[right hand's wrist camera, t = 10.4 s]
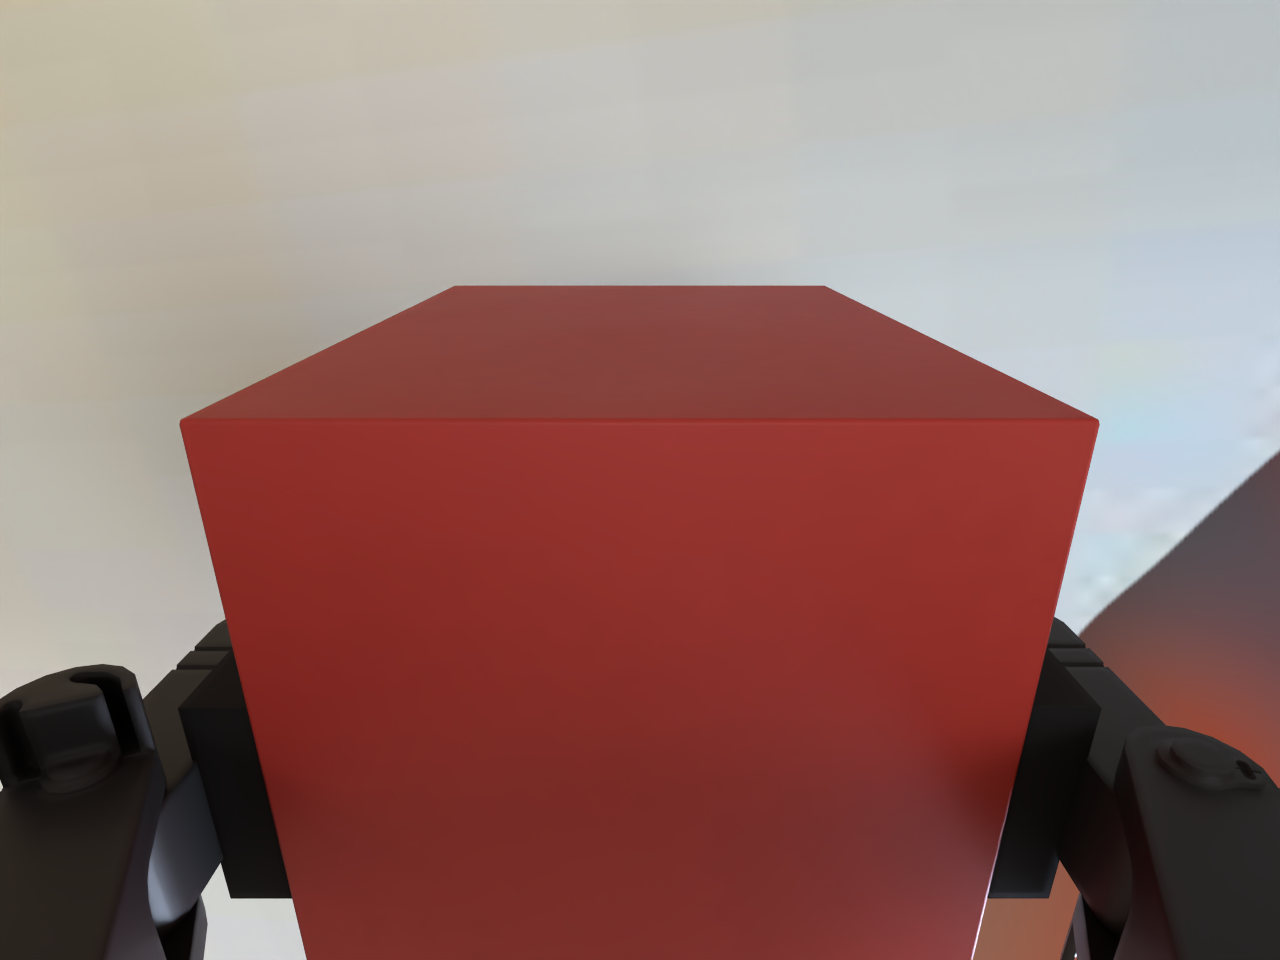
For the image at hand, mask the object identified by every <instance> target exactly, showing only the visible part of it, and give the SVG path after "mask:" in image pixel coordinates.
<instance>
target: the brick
mask: <svg viewBox="0 0 1280 960" xmlns="http://www.w3.org/2000/svg"><path fill="white" fill-rule="evenodd" d="M180 429H181V433H182V437H183V441H184V445H185V450H186V454H187V458H188V462H189V466H190V471H191V475H192V479H193V483H194V487H195V492H196V496H197V500H198V504H199V508H200V513H201V517H202V521H203V525H204V529H205V534H206V538H207V542H208V546H209V550H210V555H211V559H212V563H213V567H214V571H215V576H216V580H217V584H218V588H219V592H220V597H221V601H222V605H223V609H224V613H225V618H226V622H227V626H228V630H229V634H230V639H231V643H232V647H233V651H234V656H235V660H236V664H237V668H238V672H239V677H240V681H241V685H242V689H243V693H244V698H245V702H246V706H247V710H248V714H249V719H250V723H251V727H252V731H253V735H254V740H255V744H256V748H257V752H258V756H259V761H260V765H261V769H262V773H263V777H264V782H265V786H266V790H267V794H268V798H269V803H270V807H271V811H272V815H273V819H274V824H275V828H276V832H277V836H278V840H279V845H280V849H281V853H282V857H283V861H284V866H285V870H286V874H287V878H288V882H289V887H290V891H291V895H292V899H293V903H294V908H295V912H296V916H297V920H298V924H299V929H300V933H301V937H302V941H303V945H304V950H305V954H306V958H307V960H972V959H973V955H974V951H975V947H976V942H977V938H978V934H979V930H980V926H981V921H982V917H983V913H984V909H985V905H986V900H987V896H988V892H989V888H990V883H991V879H992V875H993V871H994V867H995V862H996V858H997V854H998V850H999V846H1000V841H1001V837H1002V833H1003V829H1004V825H1005V820H1006V816H1007V812H1008V808H1009V803H1010V799H1011V795H1012V791H1013V787H1014V782H1015V778H1016V774H1017V770H1018V766H1019V761H1020V757H1021V753H1022V749H1023V745H1024V740H1025V736H1026V732H1027V728H1028V723H1029V719H1030V715H1031V711H1032V707H1033V702H1034V698H1035V694H1036V690H1037V686H1038V681H1039V677H1040V673H1041V669H1042V665H1043V660H1044V656H1045V652H1046V648H1047V643H1048V639H1049V635H1050V631H1051V627H1052V622H1053V618H1054V614H1055V610H1056V606H1057V601H1058V597H1059V593H1060V589H1061V585H1062V580H1063V576H1064V572H1065V568H1066V563H1067V559H1068V555H1069V551H1070V547H1071V542H1072V538H1073V534H1074V530H1075V526H1076V521H1077V517H1078V513H1079V509H1080V505H1081V500H1082V496H1083V492H1084V488H1085V483H1086V479H1087V475H1088V471H1089V467H1090V462H1091V458H1092V454H1093V450H1094V446H1095V441H1096V437H1097V433H1098V429H1099V420H1098V419H1096V418H1094V417H1092V416H1090V415H1088V414H1086V413H1084V412H1082V411H1080V410H1078V409H1075V408H1073V407H1071V406H1069V405H1067V404H1065V403H1063V402H1061V401H1059V400H1057V399H1055V398H1053V397H1051V396H1049V395H1047V394H1045V393H1043V392H1041V391H1039V390H1037V389H1035V388H1033V387H1030V386H1028V385H1026V384H1024V383H1022V382H1020V381H1018V380H1016V379H1014V378H1012V377H1010V376H1008V375H1006V374H1004V373H1002V372H1000V371H998V370H996V369H994V368H992V367H990V366H988V365H985V364H983V363H981V362H979V361H977V360H975V359H973V358H971V357H969V356H967V355H965V354H963V353H961V352H959V351H957V350H955V349H953V348H951V347H949V346H947V345H945V344H943V343H940V342H938V341H936V340H934V339H932V338H930V337H928V336H926V335H924V334H922V333H920V332H918V331H916V330H914V329H912V328H910V327H908V326H906V325H904V324H902V323H900V322H898V321H895V320H893V319H891V318H889V317H887V316H885V315H883V314H881V313H879V312H877V311H875V310H873V309H871V308H869V307H867V306H865V305H863V304H861V303H859V302H857V301H855V300H853V299H850V298H848V297H846V296H844V295H842V294H840V293H838V292H836V291H834V290H832V289H830V288H828V287H826V286H454V287H452V288H449V289H447V290H445V291H443V292H441V293H439V294H437V295H435V296H433V297H431V298H429V299H427V300H425V301H423V302H421V303H419V304H417V305H415V306H413V307H411V308H408V309H406V310H404V311H402V312H400V313H398V314H396V315H394V316H392V317H390V318H388V319H386V320H384V321H382V322H380V323H378V324H376V325H374V326H372V327H370V328H368V329H365V330H363V331H361V332H359V333H357V334H355V335H353V336H351V337H349V338H347V339H345V340H343V341H341V342H339V343H337V344H335V345H333V346H331V347H329V348H327V349H325V350H322V351H320V352H318V353H316V354H314V355H312V356H310V357H308V358H306V359H304V360H302V361H300V362H298V363H296V364H294V365H292V366H290V367H288V368H286V369H284V370H281V371H279V372H277V373H275V374H273V375H271V376H269V377H267V378H265V379H263V380H261V381H259V382H257V383H255V384H253V385H251V386H249V387H247V388H245V389H243V390H241V391H238V392H236V393H234V394H232V395H230V396H228V397H226V398H224V399H222V400H220V401H218V402H216V403H214V404H212V405H210V406H208V407H206V408H204V409H202V410H200V411H198V412H195V413H193V414H191V415H189V416H187V417H185V418H183V419H181V421H180Z"/></svg>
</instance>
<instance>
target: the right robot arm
mask: <svg viewBox="0 0 1280 960" xmlns="http://www.w3.org/2000/svg"><path fill="white" fill-rule="evenodd" d="M0 780H1V783H2V785H3V789H2V791H1V792H0V960H203V958H204V949H205V941H206V933H207V918H206V912H205V907H204V903H203V900H202V897H201V893H202V891H203V890H204V888H205V886H206V885H207V883H208V882H209V880H210V879H211V877H212V875H213V874H214V872H215V871H216V869H217V867H218V866H219V864H220V863H221V865H222V869H223V872H224V876H225V880H226V883H227V887H228V890H229V894H230V897H231V898H292V895H291V891H290V887H289V882H288V878H287V874H286V870H285V866H284V861H283V857H282V853H281V849H280V845H279V840H278V836H277V832H276V828H275V824H274V819H273V815H272V811H271V807H270V803H269V798H268V794H267V790H266V786H265V782H264V777H263V773H262V769H261V765H260V761H259V756H258V752H257V748H256V744H255V740H254V735H253V731H252V727H251V723H250V719H249V714H248V710H247V706H246V702H245V698H244V693H243V689H242V685H241V681H240V677H239V672H238V668H237V664H236V660H235V656H234V651H233V647H232V643H231V639H230V634H229V630H228V626H227V622H226V620H224V621H222V622H220V623H219V624H217V625H216V626H215V627H214V628H213V629H212V630H211V631H210V632H209V633H208V634H207V635H206V636H205V637H204V638H203V639H202V640H201V641H200V642H199V643H198V644H197V645H196V646H195V650H194V651H190V652H189V653H188V654H187V655H186V656H185V657H184V658H183V659H182V660H181V661H180V662H179V663H178V664H177V669H176V670H171V671H170V672H169V673H168V674H167V675H166V676H165V678H164V679H163V680H162V681H161V682H160V683H159V684H158V685H157V686H156V687H155V688H154V689H153V690H152V691H151V692H150V693H149V694H148V695H147V696H146V697H145V698H144V699H143V700H142V697H141V693H140V690H139V687H138V683H137V680H136V677H135V674H134V673H132V672H131V671H129V670H127V669H126V668H124V667H123V666H114V665H106V664H99V665H90V666H82V667H75V668H71V669H67V670H64V671H60V672H57V673H53V674H50V675H46V676H44V677H41V678H39V679H37V680H35V681H32V682H30V683H28V684H25V685H23V686H21V687H19V688H16V689H15V690H13V691H12V692H10V693H9V694H7V695H6V696H4V697H3V698H1V699H0ZM1059 860H1060V861H1061V863H1062V864H1063V866H1064V867H1065V869H1066V871H1067V872H1068V874H1069V875H1070V877H1071V879H1072V880H1073V882H1074V883H1075V885H1076V886H1077V888H1078V890H1079V891H1080V893H1079V897H1078V900H1077V903H1076V907H1075V910H1074V913H1073V917H1072V920H1071V923H1070V927H1069V930H1068V933H1067V937H1066V940H1065V943H1064V947H1063V950H1062V953H1061V959H1060V960H1074V958H1075V957H1076V956H1077V960H1280V788H1278V787H1277V786H1276V784H1275V783H1274V782H1273V781H1272V779H1271V778H1270V777H1269V776H1268V774H1267V773H1266V772H1265V770H1264V769H1263V768H1262V767H1261V766H1259V765H1258V764H1257V763H1255V762H1254V761H1253V760H1251V759H1250V758H1249V757H1247V756H1246V755H1245V754H1243V753H1242V752H1241V751H1239V750H1237V749H1235V748H1233V747H1231V746H1229V745H1227V744H1225V743H1223V742H1221V741H1219V740H1217V739H1215V738H1213V737H1210V736H1207V735H1204V734H1201V733H1198V732H1195V731H1192V730H1189V729H1186V728H1180V727H1172V726H1166V725H1165V724H1164V723H1163V722H1162V721H1161V720H1160V719H1159V718H1158V717H1157V716H1156V715H1155V714H1154V713H1153V712H1152V711H1151V710H1150V709H1149V708H1148V707H1147V706H1146V705H1145V704H1144V703H1143V702H1142V701H1141V700H1140V699H1139V698H1138V697H1137V696H1136V695H1135V694H1134V693H1133V692H1132V691H1131V690H1130V689H1129V688H1128V687H1127V686H1126V685H1125V684H1124V683H1123V682H1122V681H1121V680H1120V679H1119V678H1118V677H1117V676H1116V675H1115V674H1114V673H1113V672H1112V671H1111V670H1110V669H1109V668H1108V667H1104V665H1103V661H1102V660H1101V659H1100V658H1099V657H1098V656H1097V655H1096V654H1095V653H1094V652H1093V651H1092V650H1091V649H1089V648H1088V649H1087V648H1086V647H1085V643H1084V642H1083V641H1082V640H1081V639H1080V638H1079V637H1078V636H1077V635H1076V634H1075V633H1074V632H1073V631H1072V630H1071V629H1070V628H1069V627H1068V626H1067V625H1066V624H1065V623H1064V622H1062V621H1060V620H1059V619H1057V618H1055V617H1054V618H1053V622H1052V627H1051V631H1050V635H1049V639H1048V643H1047V648H1046V652H1045V656H1044V660H1043V665H1042V669H1041V673H1040V677H1039V681H1038V686H1037V690H1036V694H1035V698H1034V702H1033V707H1032V711H1031V715H1030V719H1029V723H1028V728H1027V732H1026V736H1025V740H1024V745H1023V749H1022V753H1021V757H1020V761H1019V766H1018V770H1017V774H1016V778H1015V782H1014V787H1013V791H1012V795H1011V799H1010V803H1009V808H1008V812H1007V816H1006V820H1005V825H1004V829H1003V833H1002V837H1001V841H1000V846H999V850H998V854H997V858H996V862H995V867H994V871H993V875H992V879H991V883H990V888H989V892H988V896H987V898H1049V895H1050V892H1051V888H1052V885H1053V881H1054V878H1055V874H1056V870H1057V867H1058V863H1059Z"/></svg>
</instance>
